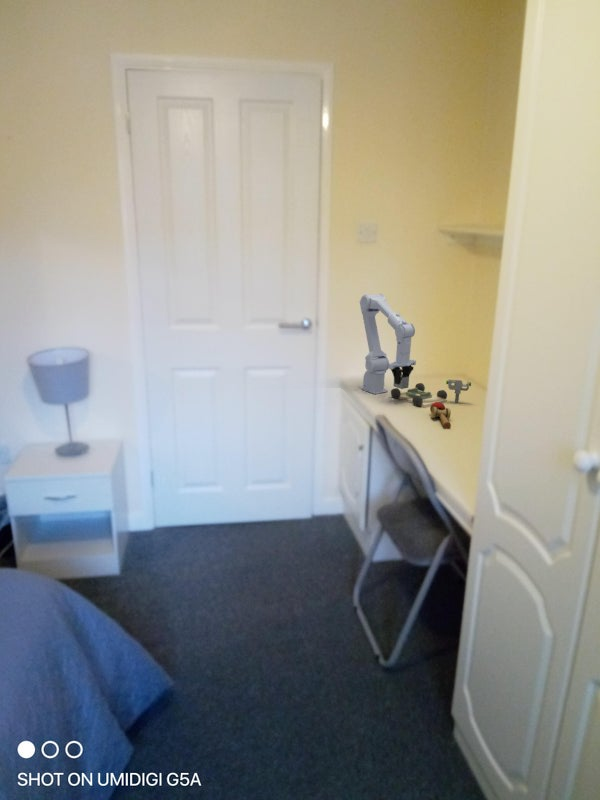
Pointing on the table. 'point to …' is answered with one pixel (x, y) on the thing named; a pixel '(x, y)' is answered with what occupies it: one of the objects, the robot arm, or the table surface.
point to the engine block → (402, 382)
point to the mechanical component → (457, 387)
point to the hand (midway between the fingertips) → (400, 383)
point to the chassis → (419, 396)
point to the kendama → (441, 413)
